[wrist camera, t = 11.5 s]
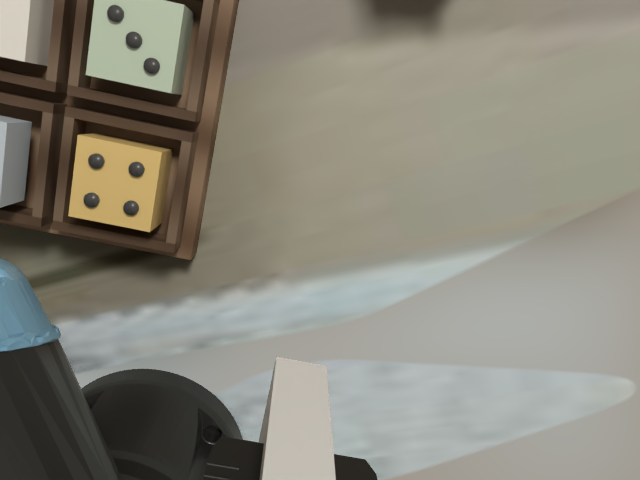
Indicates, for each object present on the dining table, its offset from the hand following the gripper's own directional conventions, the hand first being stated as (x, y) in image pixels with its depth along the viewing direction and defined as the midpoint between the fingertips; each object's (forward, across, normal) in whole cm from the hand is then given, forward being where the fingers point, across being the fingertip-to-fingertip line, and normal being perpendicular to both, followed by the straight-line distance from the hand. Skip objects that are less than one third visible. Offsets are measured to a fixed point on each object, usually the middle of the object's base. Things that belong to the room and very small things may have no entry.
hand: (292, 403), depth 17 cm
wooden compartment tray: (+24, +16, -6) cm, 30 cm away
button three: (+22, +12, -10) cm, 27 cm away
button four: (+22, +12, -2) cm, 25 cm away
